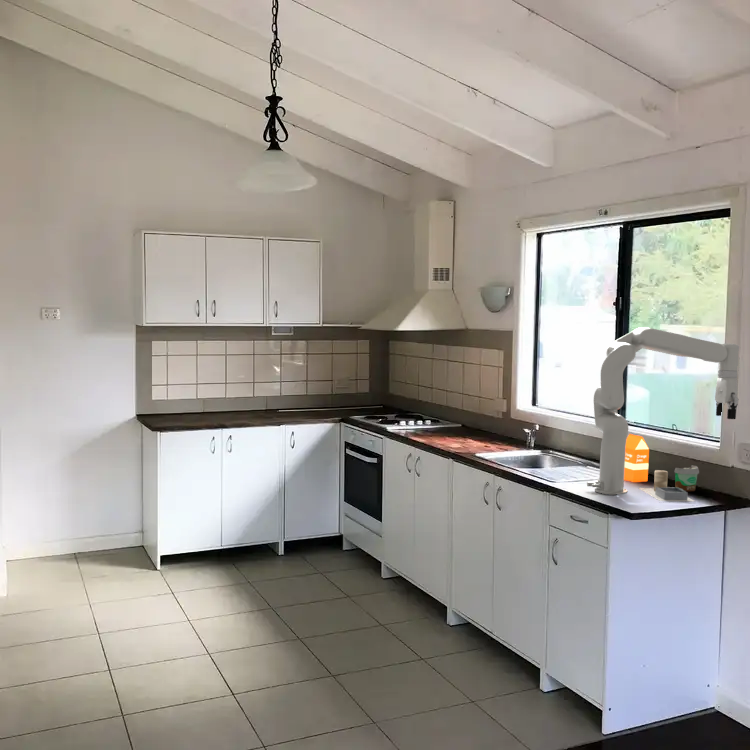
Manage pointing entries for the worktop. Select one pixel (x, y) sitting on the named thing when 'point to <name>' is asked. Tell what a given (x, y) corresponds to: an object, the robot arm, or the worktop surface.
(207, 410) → the worktop surface
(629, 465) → the orange juice
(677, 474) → the food container
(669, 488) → the grey square tray
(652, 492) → the board
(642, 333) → the robot arm
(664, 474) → the plug
